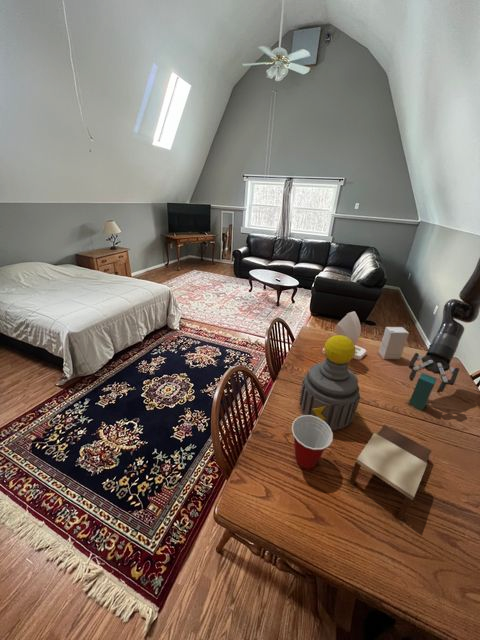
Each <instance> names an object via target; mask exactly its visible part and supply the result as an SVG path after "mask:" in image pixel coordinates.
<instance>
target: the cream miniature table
mask: <svg viewBox="0 0 480 640" xmlns="http://www.w3.org/2000/svg"><path fill="white" fill-rule="evenodd" d="M431 453H432V450H431V449H430V448H428V447H426V446H424V445H422V444H420V443H419V442H417V441H416V440H413V439H411V438H410V437H408V436H406V435H404V434H402V433H401V432H398V431H397V430H395V429H393V428H391V427H389V426H388V425H386V424H383V425H382V427H381V429H379V432H378V433H375V432H374V433H373V434H372V436H371V437H370V438H369V440H368V441H367V443H366V444H365V446H364V447H363V449H362V450H361V452H360V453H359V454H358V456H357V458H356V459H355V463H354V465H353V469H352V472H351V476H350V478H349V483H350V484H351V485H353V486H354V485H355V484H356V481H357V478H358V475H359V473H360V470H361V467H362V468H364V469H366V470H367V471H368V472H370V473H371V474H373V475H374V476H376V477H377V478H379V479H380V480H381V481H383V482H385V483H386V484H387V485H388V486H391V487H392V488H394V489H395V490H397V491H398V492H399V493H401V494H403V495H404V496H405V498H404V500H403V503H402V504H401V507H400V508H399V511H398V513H397V515H396V518H397V519H399V520H401V521H403V520H404V519H405V516H406V514H407V512H408V510H409V509H410V506H411V505H412V502H413V500H414V499H415V496H416V494H417V492H418V489H419V486H420V483H421V481H422V478H423V476H424V474H425V472H426V468H427V466H428V460H429V457H430V454H431Z"/></svg>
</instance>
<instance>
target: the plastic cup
mask: <svg viewBox="0 0 480 640" xmlns="http://www.w3.org/2000/svg"><path fill="white" fill-rule="evenodd" d="M291 431H292V432H291V433H292V435H293V440H294V441H293V443H294V446H293V447H294V457H295V461H296V463H297V465H298V466H300V467H301V468H304V469H306V470H311V469H313V468H314V467H315V466H316V465H317V463H318V462H319V460H320V459H321V457H322V455H323V453H324V452H325V449H326V448H329V446H330V445H331V444H332V442H333V438H334V434H333V430H331V428H330V427H329V426H328V424H327V423H326V422H325V421H323V420H322V419H320V418H318V417H315V416H312V415H303V414H302V415H300V416H298V417H296V418H295V419H294V420H293V421H292V424H291Z"/></svg>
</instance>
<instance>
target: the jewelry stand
mask: <svg viewBox="0 0 480 640" xmlns="http://www.w3.org/2000/svg"><path fill="white" fill-rule="evenodd" d="M333 333H334V334H336V335H343V336H346V337H348V338H349V339H351V341H352V342H353V344H354V346H355V354H354V357H353V358H352V359H354V360H358V361H359V360H362V359H363V358H364V357H365V356H366V354H367V350H366V349H365V348H364V347H361V346H359V345H356V344H357V343H358V341H359V339H360V337H361V333H362V325H361V322H360V319H359V317H358V315H357V313H356V311H351V312H350V311H349V312H348V313H346V315H345V316H344V317H343V318H341V320H340V321H339V322H338V323H337V324H336V325H335V328H334V330H333ZM321 350H322V351H321V354H323V355H325V351H324V348H322V349H321Z"/></svg>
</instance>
